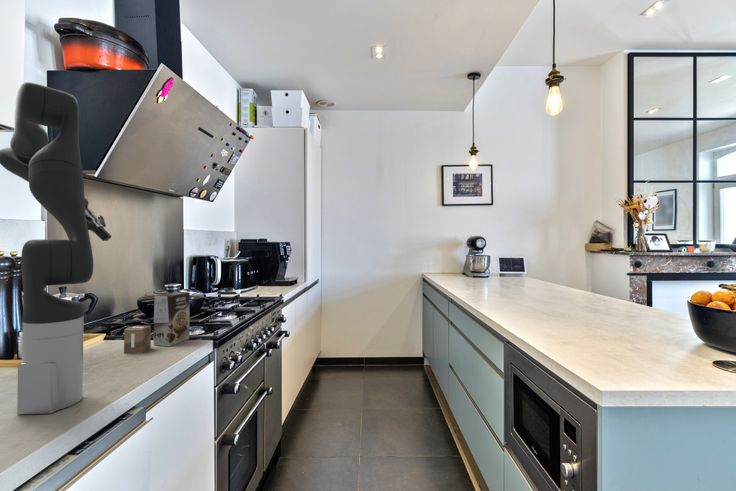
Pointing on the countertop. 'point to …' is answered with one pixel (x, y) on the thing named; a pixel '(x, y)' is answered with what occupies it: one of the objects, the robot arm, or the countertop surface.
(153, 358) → the countertop surface
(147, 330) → the numbered block
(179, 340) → the coffee box
